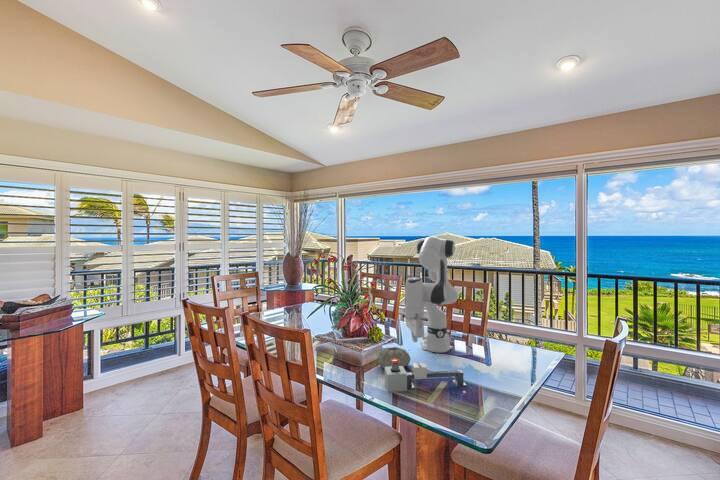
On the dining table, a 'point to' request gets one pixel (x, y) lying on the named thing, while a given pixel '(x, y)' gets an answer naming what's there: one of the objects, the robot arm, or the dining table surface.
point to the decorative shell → (393, 356)
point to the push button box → (395, 379)
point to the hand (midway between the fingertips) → (414, 341)
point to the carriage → (419, 370)
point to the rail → (457, 374)
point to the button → (395, 364)
